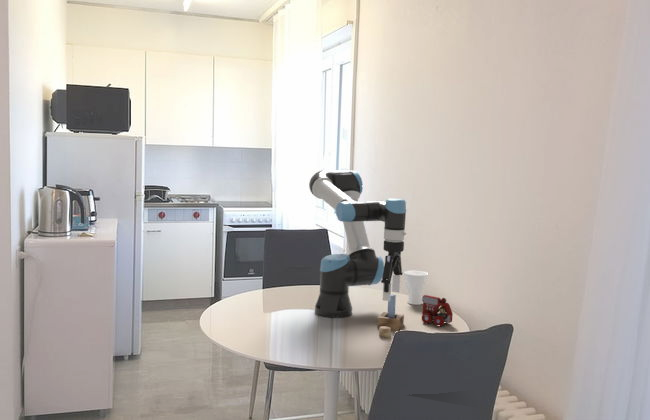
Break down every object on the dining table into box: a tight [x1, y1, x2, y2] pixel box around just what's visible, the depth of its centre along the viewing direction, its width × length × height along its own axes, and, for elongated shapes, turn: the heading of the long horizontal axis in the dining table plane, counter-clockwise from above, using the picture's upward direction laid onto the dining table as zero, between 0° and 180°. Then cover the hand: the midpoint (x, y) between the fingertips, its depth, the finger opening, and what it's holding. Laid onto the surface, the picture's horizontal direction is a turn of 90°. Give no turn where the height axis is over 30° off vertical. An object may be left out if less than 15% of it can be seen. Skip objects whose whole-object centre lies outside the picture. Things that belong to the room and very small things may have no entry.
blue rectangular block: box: [387, 293, 397, 318], centre depth 214 cm, size 3×3×12 cm
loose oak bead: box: [378, 326, 392, 339], centre depth 203 cm, size 4×4×3 cm
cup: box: [403, 269, 429, 306], centre depth 249 cm, size 10×10×14 cm
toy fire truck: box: [421, 294, 454, 327], centre depth 220 cm, size 7×12×10 cm, turn 53°
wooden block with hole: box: [377, 311, 405, 331], centre depth 215 cm, size 8×8×4 cm
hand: (391, 296), depth 214 cm, fingers open, 13 cm apart
